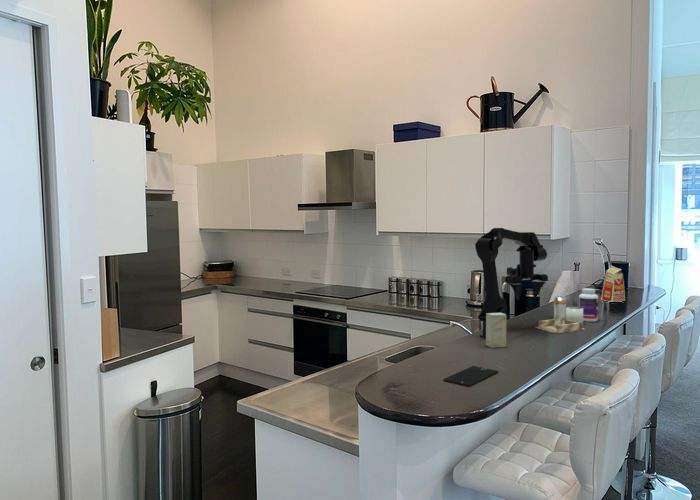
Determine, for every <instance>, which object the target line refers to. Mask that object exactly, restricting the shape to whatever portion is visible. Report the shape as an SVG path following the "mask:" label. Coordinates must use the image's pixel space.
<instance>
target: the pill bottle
mask: <svg viewBox="0 0 700 500" xmlns="http://www.w3.org/2000/svg"><path fill="white" fill-rule="evenodd" d="M578 307H581V308H583V322H589V323H591V322H594V323H595V322H597V321H598V320H599V295H597V294H596V289H595V288H589V287H588V288H586V287H585V288H581V293H580V294H579V296H578Z"/></svg>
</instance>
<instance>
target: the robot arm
mask: <svg viewBox="0 0 700 500" xmlns="http://www.w3.org/2000/svg"><path fill="white" fill-rule="evenodd" d="M503 240H507V241H511V242H514V244H516V245H519V247H518V248H517V249H516V250H515V251H516V252H519V261H518V264H516V268H513V267H511V266H510V267H506V276H505V278H504V282H505V284H507V285H508V286H510V287H511V288H512V291H513V292H514V295H515V298H516V300H517V301H520V299H521V294H522V288H523V282H531V285H532V295H533V298H534V299H536V298H537V297H538V295H539V293H540V291H541V290H542V288H543V286H544V285H545V284H546V282H548V281H549V276H548V275H547V273H535V268H537V264H535V262H541V261H545V260H546V259H547V257H548V252H547V250H546V249H545V248H544V245H543V244H541V243H540V240H539V239H538V236H537V235H536V233H535V232H533V231H515V230H510V229H506V228H504V227H493V228H491V230H490V231H488V232H486V233H484V234H483V235H481V236H480V237H479V239H478V240H476V242H475V251H476V254H477V257H478V258H479V259H480V261H481V264H482V270H483V280H484V285H485V295H486V297H485V299H484V301H483V308H482V310H481V311H480V313H479V315H477V317H478V321H480V322H482V334H480V335H479V336H480V337H481V338H484V339H486V313H503V314H506V315H507V309H508V308H507V300H506V298H504V297H503V298H502V297H501V296H500V289H499V281H498V271H497V266H496V265H497V264H496V259H497V257H498V254H499V248H500V247H501V246H502V244H503Z"/></svg>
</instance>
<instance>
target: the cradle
mask: <svg viewBox="0 0 700 500" xmlns="http://www.w3.org/2000/svg"><path fill="white" fill-rule="evenodd" d="M534 328H535V329H536V328H537V330H541V331H544V332H548V333H552V334H561V333H563V334H564V333H571V332H578V331H579V332H580V331H585V328H584V327H583V325H582V323H579V322H575V321H570V320H566V324H563V325H556V328H554V318H553V319H552V318H551V319H544V320H542V319H541V320H538V326H535V327H534Z"/></svg>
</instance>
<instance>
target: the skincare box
mask: <svg viewBox="0 0 700 500" xmlns="http://www.w3.org/2000/svg"><path fill="white" fill-rule="evenodd" d="M485 346H487V347H489V348H490V349H491V348H505V347H507V313H506V314H503V313H486V338H485Z"/></svg>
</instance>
